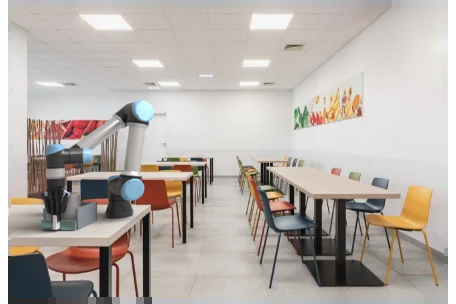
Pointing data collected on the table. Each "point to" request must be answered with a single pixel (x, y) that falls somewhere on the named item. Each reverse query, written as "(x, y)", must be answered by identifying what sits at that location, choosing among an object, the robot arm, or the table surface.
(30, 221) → the table surface
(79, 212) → the cradle
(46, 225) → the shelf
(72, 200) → the pillar candle
